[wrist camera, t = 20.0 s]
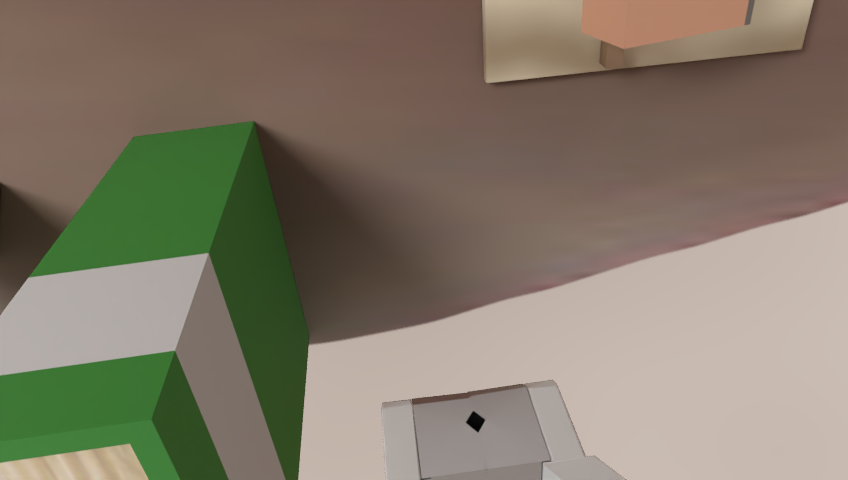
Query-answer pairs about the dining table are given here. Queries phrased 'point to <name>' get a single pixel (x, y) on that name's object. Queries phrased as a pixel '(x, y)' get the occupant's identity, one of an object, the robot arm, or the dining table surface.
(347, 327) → the dining table surface
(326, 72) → the dining table surface
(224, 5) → the dining table surface
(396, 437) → the robot arm
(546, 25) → the board
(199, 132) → the hardback book
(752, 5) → the block
